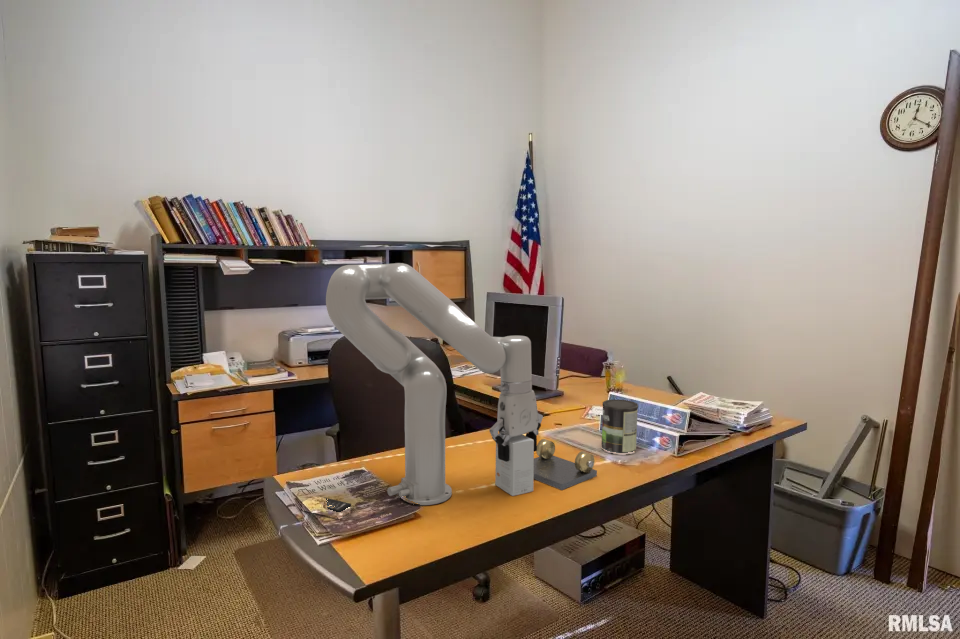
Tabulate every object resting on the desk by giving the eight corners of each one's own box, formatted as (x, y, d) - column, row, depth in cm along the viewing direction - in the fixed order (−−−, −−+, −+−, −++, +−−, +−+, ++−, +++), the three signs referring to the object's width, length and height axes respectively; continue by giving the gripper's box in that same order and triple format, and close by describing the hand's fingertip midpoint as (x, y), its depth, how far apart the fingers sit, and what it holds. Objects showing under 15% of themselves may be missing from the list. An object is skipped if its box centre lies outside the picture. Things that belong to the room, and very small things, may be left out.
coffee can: (604, 455, 165) (605, 407, 163) (598, 443, 175) (599, 399, 173) (640, 456, 164) (642, 408, 163) (632, 444, 174) (633, 399, 173)
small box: (534, 491, 139) (534, 439, 137) (512, 496, 135) (512, 443, 134) (515, 480, 146) (516, 430, 144) (494, 485, 142) (495, 434, 141)
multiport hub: (313, 504, 132) (312, 494, 131) (352, 513, 127) (351, 503, 127) (299, 512, 128) (299, 502, 127) (339, 521, 123) (339, 511, 123)
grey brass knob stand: (563, 490, 139) (563, 465, 138) (511, 470, 152) (511, 446, 152) (598, 476, 148) (599, 452, 148) (546, 458, 162) (547, 436, 161)
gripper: (501, 395, 129) (503, 468, 131) (551, 383, 141) (552, 450, 143) (479, 390, 135) (481, 460, 137) (529, 378, 146) (531, 443, 148)
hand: (517, 454), depth 140 cm, fingers open, 9 cm apart
